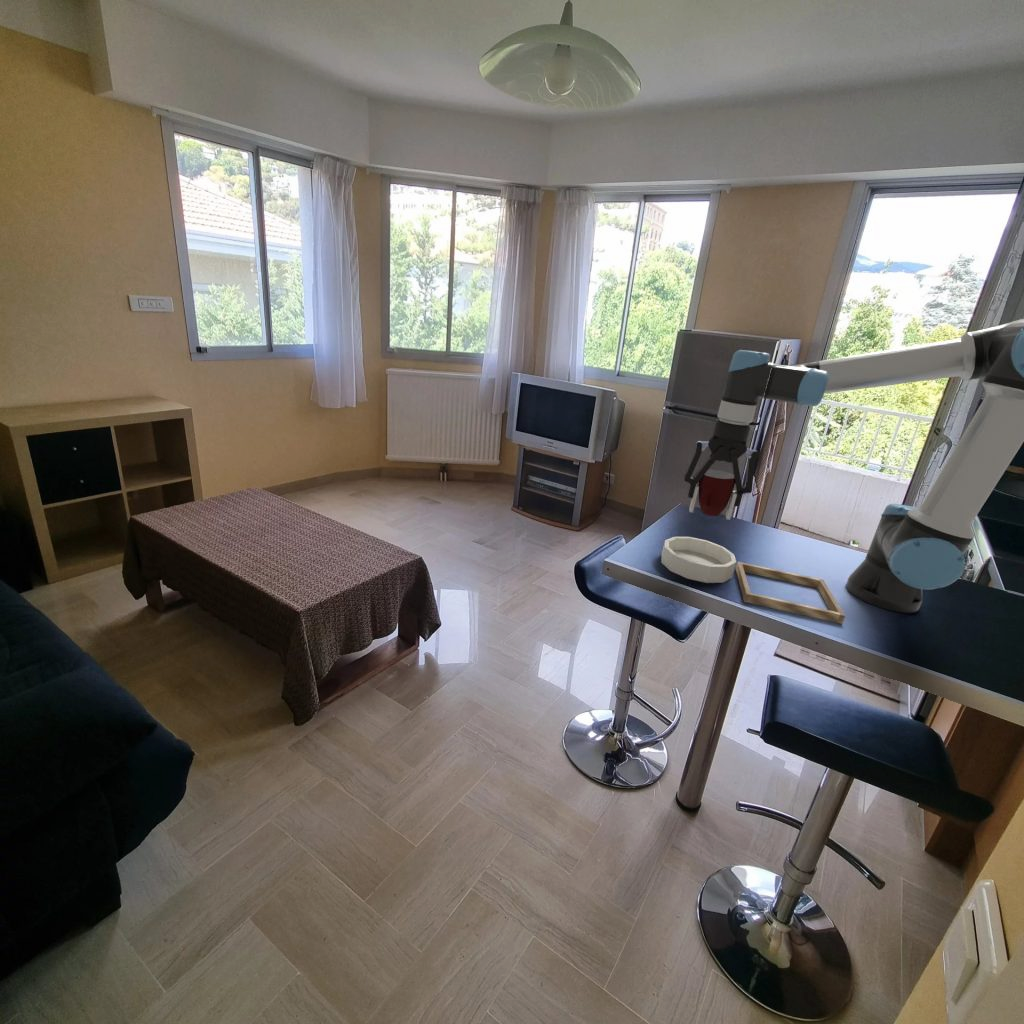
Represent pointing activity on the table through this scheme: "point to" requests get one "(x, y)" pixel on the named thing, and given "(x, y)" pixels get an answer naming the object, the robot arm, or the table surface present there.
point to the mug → (715, 491)
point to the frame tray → (830, 615)
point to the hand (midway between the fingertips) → (709, 514)
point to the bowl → (698, 559)
